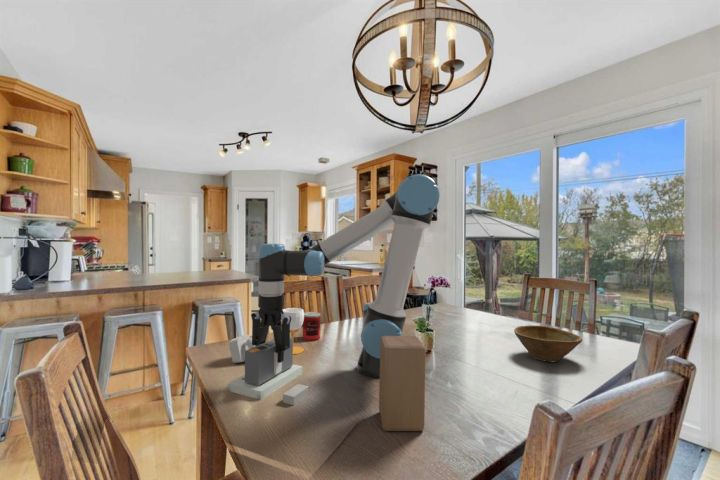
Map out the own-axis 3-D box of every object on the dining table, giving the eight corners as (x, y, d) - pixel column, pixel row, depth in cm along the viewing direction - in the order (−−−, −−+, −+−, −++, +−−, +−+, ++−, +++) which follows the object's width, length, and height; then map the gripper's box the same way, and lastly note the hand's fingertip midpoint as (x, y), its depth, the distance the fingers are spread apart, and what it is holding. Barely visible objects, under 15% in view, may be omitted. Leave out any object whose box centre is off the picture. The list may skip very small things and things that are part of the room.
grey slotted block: (292, 372, 109) (292, 337, 109) (258, 393, 94) (258, 352, 94) (279, 370, 111) (280, 335, 111) (244, 389, 96) (245, 349, 96)
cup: (275, 353, 130) (276, 311, 130) (288, 345, 139) (288, 307, 139) (296, 356, 127) (297, 313, 127) (307, 348, 136) (308, 308, 136)
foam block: (308, 396, 95) (308, 386, 95) (293, 408, 89) (294, 396, 89) (297, 394, 97) (298, 383, 97) (282, 405, 90) (282, 394, 90)
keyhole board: (302, 375, 110) (302, 366, 110) (260, 402, 92) (260, 391, 91) (272, 368, 115) (273, 360, 115) (227, 393, 96) (227, 383, 96)
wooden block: (416, 410, 89) (417, 334, 88) (425, 432, 79) (426, 347, 78) (378, 410, 88) (379, 334, 88) (382, 432, 78) (383, 347, 78)
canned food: (311, 334, 155) (312, 310, 155) (323, 338, 150) (324, 313, 150) (298, 338, 149) (299, 313, 149) (311, 342, 144) (311, 316, 144)
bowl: (590, 373, 115) (590, 344, 115) (516, 364, 123) (517, 337, 123) (572, 353, 136) (573, 328, 136) (510, 346, 143) (511, 322, 143)
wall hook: (260, 365, 116) (254, 336, 117) (234, 369, 118) (228, 341, 119) (271, 357, 124) (265, 330, 125) (246, 361, 126) (240, 335, 127)
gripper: (303, 295, 102) (302, 371, 102) (256, 290, 110) (255, 361, 110) (288, 299, 95) (287, 381, 96) (239, 293, 103) (238, 369, 103)
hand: (270, 370), depth 103 cm, fingers closed on grey slotted block, 5 cm apart
